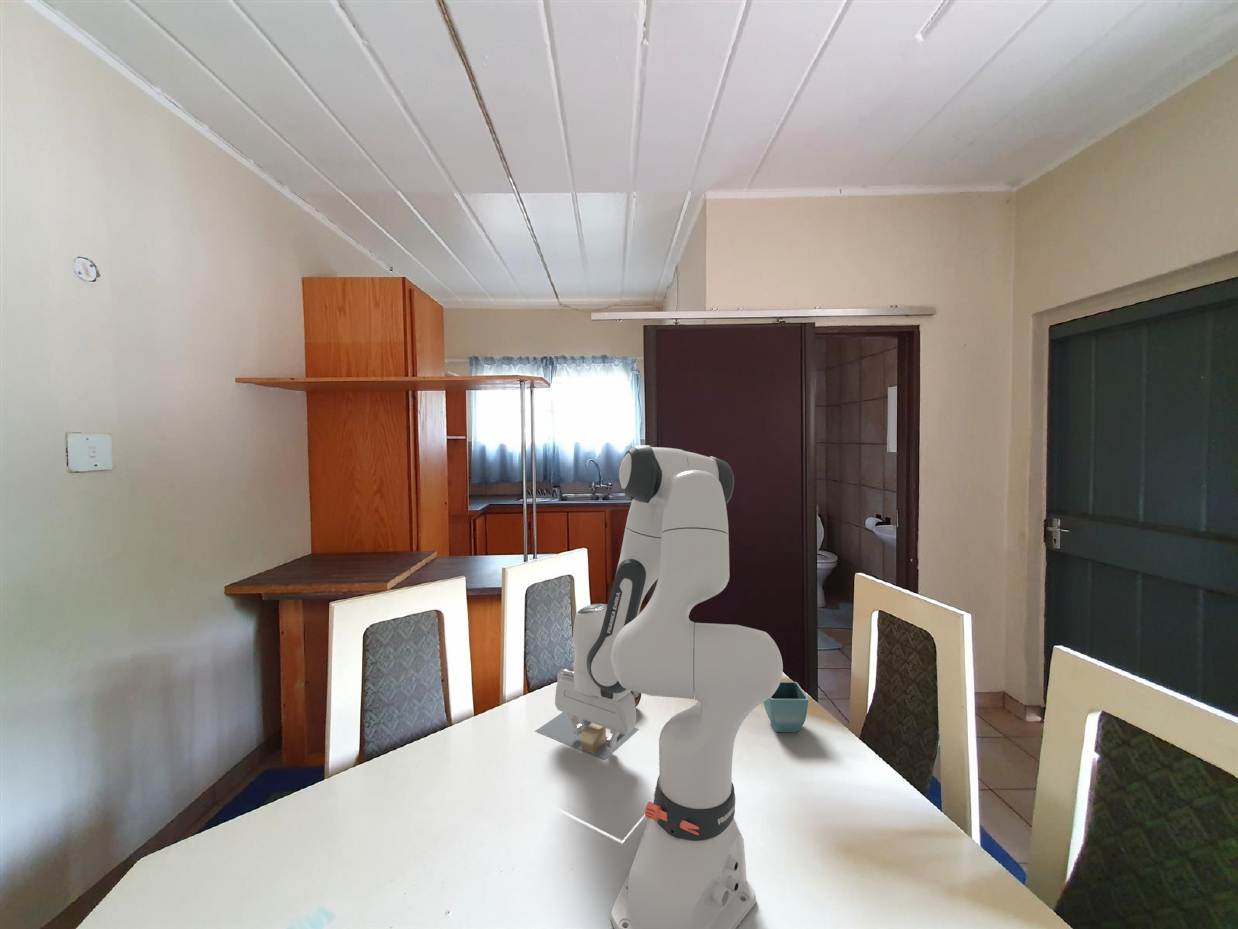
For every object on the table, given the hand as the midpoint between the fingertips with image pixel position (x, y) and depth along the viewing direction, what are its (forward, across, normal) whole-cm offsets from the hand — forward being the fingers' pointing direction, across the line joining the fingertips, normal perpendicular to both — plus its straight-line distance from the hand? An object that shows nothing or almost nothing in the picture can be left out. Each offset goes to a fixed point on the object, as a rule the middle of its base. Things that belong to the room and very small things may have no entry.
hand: (594, 739), depth 111 cm
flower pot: (+2, +33, +31) cm, 45 cm away
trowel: (+1, 0, +4) cm, 4 cm away
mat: (+2, -5, +4) cm, 7 cm away
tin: (+2, -5, +14) cm, 15 cm away
